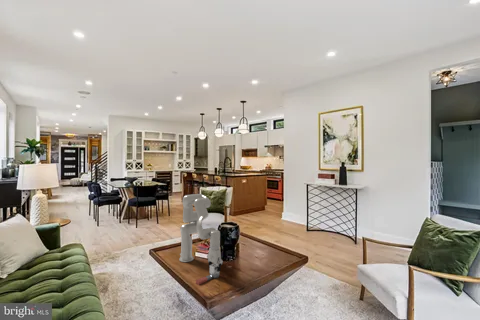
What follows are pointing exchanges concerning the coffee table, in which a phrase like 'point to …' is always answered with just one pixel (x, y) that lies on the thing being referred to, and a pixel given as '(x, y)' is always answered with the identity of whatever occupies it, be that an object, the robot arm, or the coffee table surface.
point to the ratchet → (206, 278)
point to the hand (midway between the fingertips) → (214, 269)
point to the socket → (213, 269)
